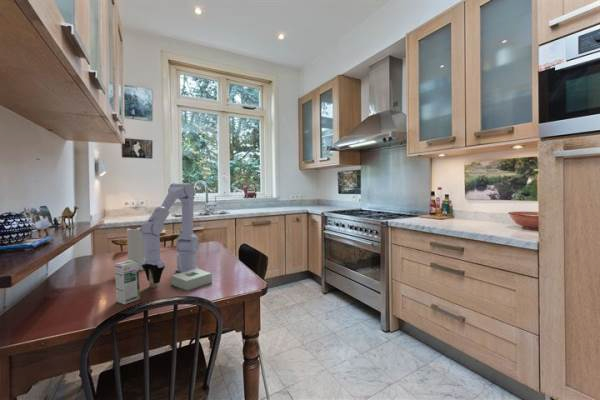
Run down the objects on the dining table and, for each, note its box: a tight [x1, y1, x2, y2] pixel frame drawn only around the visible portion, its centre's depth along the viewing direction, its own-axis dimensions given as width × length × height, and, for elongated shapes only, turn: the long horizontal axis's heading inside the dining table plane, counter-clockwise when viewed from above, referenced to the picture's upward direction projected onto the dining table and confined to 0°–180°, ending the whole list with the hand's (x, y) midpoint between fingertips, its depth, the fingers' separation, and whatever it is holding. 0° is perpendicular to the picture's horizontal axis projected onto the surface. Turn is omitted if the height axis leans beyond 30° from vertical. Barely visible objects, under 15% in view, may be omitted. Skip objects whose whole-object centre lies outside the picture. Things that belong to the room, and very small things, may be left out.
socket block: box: [170, 267, 213, 291], centre depth 119 cm, size 12×12×4 cm
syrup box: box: [114, 260, 141, 305], centre depth 102 cm, size 6×6×14 cm
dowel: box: [148, 269, 159, 289], centre depth 115 cm, size 3×3×8 cm
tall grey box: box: [126, 227, 145, 271], centre depth 139 cm, size 7×6×21 cm
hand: (153, 281), depth 115 cm, fingers open, 5 cm apart
